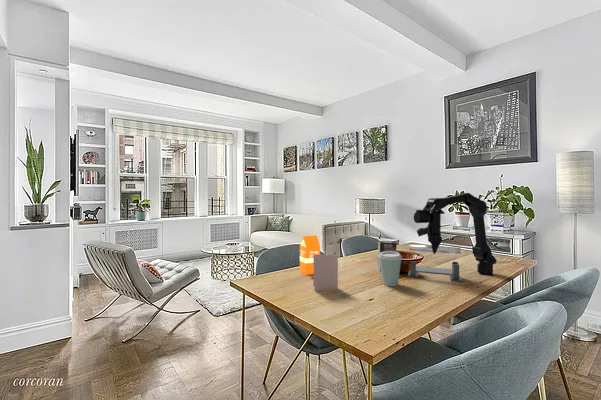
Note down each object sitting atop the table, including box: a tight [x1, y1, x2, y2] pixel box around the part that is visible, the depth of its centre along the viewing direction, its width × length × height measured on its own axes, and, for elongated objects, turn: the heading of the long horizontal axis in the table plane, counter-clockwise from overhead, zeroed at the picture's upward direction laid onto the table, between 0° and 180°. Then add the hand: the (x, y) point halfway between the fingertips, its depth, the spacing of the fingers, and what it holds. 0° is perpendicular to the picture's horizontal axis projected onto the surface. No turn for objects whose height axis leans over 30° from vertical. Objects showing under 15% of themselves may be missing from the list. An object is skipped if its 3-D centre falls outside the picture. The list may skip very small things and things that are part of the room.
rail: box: [408, 244, 462, 255], centre depth 157 cm, size 24×3×3 cm, turn 68°
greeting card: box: [312, 254, 339, 292], centre depth 138 cm, size 11×7×15 cm, turn 74°
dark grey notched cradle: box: [407, 260, 463, 283], centre depth 157 cm, size 25×9×8 cm, turn 68°
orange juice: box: [299, 234, 321, 275], centre depth 167 cm, size 8×9×20 cm
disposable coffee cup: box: [377, 251, 403, 287], centre depth 145 cm, size 11×11×15 cm
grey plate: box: [416, 265, 452, 276], centre depth 169 cm, size 24×11×1 cm, turn 68°
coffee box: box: [377, 240, 398, 272], centre depth 171 cm, size 9×6×16 cm
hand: (434, 252), depth 157 cm, fingers closed on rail, 3 cm apart
